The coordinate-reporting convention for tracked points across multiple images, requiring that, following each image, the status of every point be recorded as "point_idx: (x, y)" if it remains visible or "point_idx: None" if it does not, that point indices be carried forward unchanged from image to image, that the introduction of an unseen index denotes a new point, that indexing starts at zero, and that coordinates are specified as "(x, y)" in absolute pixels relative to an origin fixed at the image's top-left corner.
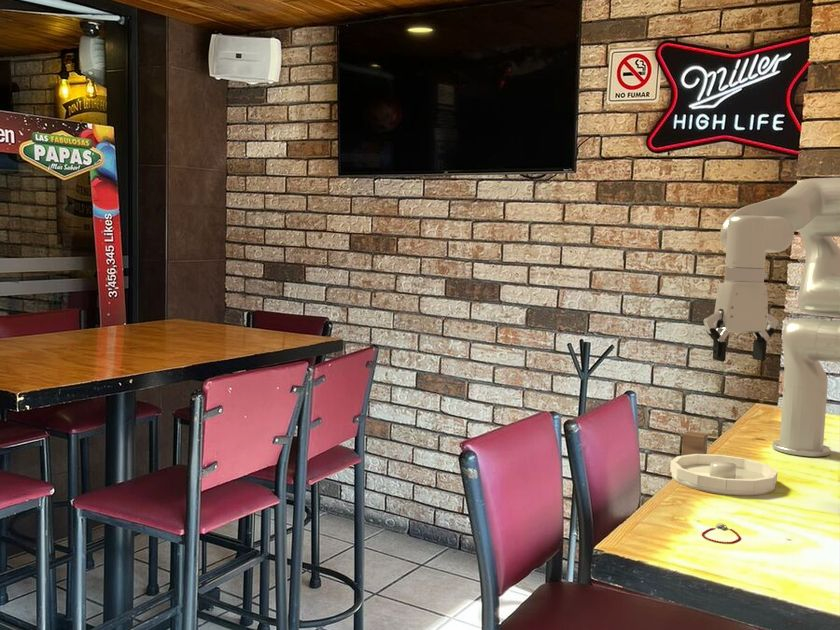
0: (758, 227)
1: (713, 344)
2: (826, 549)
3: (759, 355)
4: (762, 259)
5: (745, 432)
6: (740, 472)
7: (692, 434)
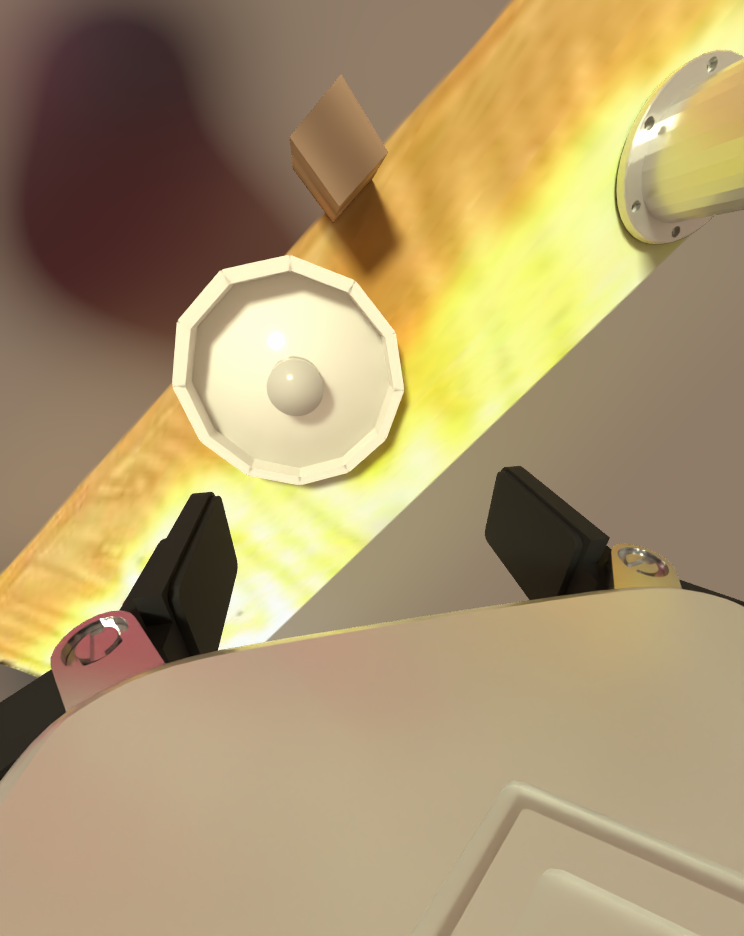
0: None
1: (126, 603)
2: (265, 634)
3: (500, 533)
4: None
5: None
6: (353, 364)
7: (323, 151)
